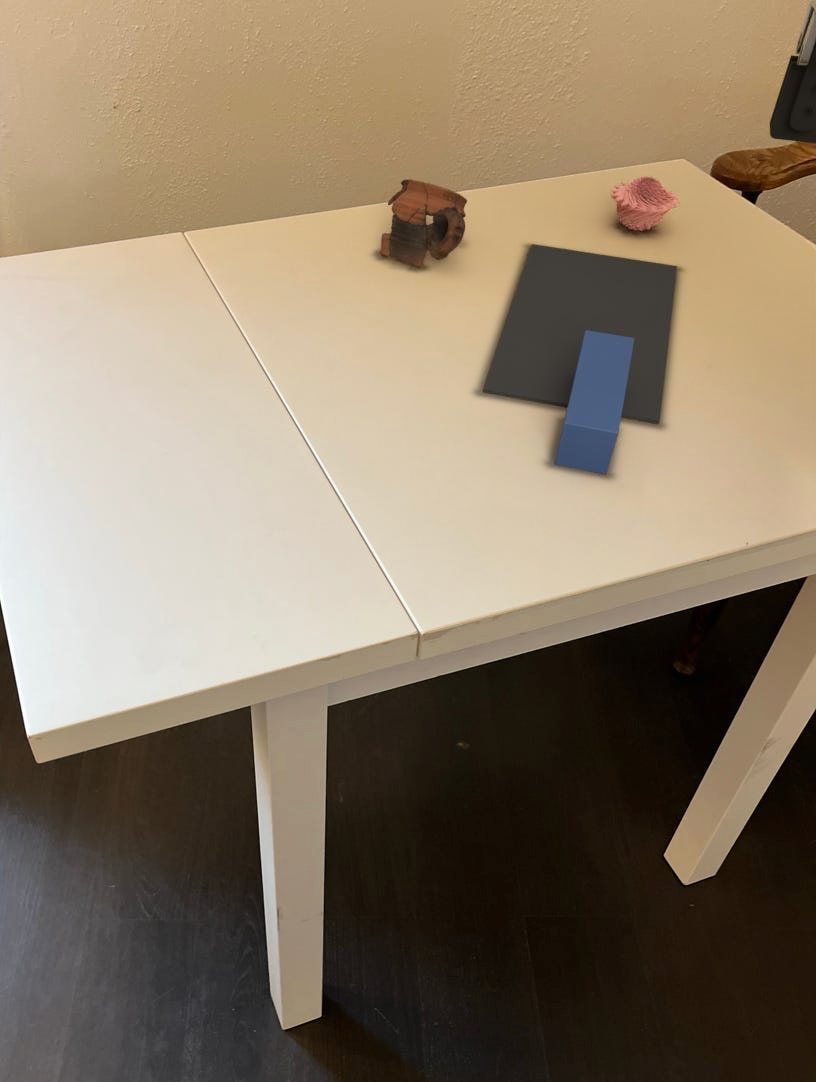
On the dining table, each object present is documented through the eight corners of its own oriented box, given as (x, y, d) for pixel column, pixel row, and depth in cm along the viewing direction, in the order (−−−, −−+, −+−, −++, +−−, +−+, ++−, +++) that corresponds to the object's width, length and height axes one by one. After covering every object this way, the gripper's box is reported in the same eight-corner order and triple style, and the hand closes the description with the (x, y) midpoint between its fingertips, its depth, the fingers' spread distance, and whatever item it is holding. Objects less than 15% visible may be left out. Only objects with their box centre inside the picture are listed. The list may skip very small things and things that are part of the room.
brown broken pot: (358, 249, 107) (379, 171, 104) (421, 270, 112) (443, 196, 110) (420, 266, 98) (446, 181, 95) (485, 288, 104) (511, 209, 101)
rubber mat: (676, 269, 104) (677, 265, 104) (658, 424, 85) (659, 420, 85) (531, 247, 107) (531, 243, 107) (482, 392, 88) (483, 388, 88)
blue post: (606, 474, 80) (622, 379, 89) (618, 433, 77) (634, 337, 85) (554, 464, 81) (575, 370, 89) (564, 422, 77) (585, 329, 86)
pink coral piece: (596, 211, 114) (607, 162, 109) (662, 212, 114) (676, 164, 109) (608, 242, 108) (620, 192, 104) (678, 243, 108) (693, 194, 104)
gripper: (1062, -272, 38) (871, 192, 52) (999, -294, 48) (852, 102, 62) (865, -278, 40) (729, 176, 53) (842, -298, 50) (732, 90, 63)
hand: (795, 135), depth 57 cm, fingers closed
